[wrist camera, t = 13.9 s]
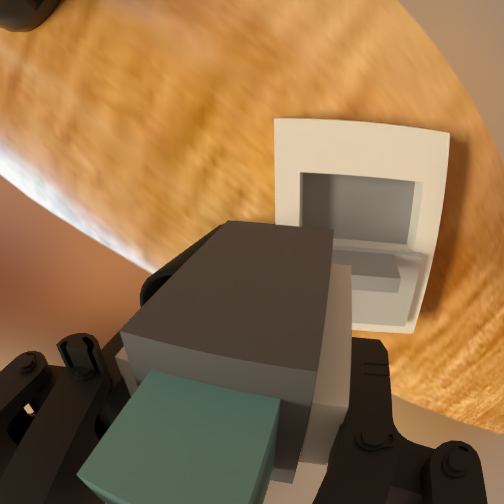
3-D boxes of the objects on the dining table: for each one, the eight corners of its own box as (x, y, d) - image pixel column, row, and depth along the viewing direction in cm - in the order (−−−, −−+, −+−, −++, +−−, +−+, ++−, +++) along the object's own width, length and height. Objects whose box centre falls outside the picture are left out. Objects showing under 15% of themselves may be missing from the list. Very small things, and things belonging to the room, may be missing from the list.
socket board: (281, 117, 26) (273, 118, 23) (437, 130, 23) (450, 133, 20) (281, 302, 34) (274, 322, 31) (407, 313, 31) (412, 333, 28)
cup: (285, 242, 31) (255, 315, 21) (245, 293, 35) (207, 370, 24) (219, 198, 31) (158, 249, 20) (187, 253, 34) (128, 317, 24)
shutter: (291, 242, 27) (281, 268, 23) (420, 252, 24) (433, 281, 20) (289, 311, 30) (280, 345, 26) (403, 321, 27) (410, 355, 23)
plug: (228, 220, 12) (-32, 508, 2) (333, 230, 11) (233, 664, 1) (232, 325, 14) (94, 573, 4) (320, 338, 13) (244, 629, 3)
